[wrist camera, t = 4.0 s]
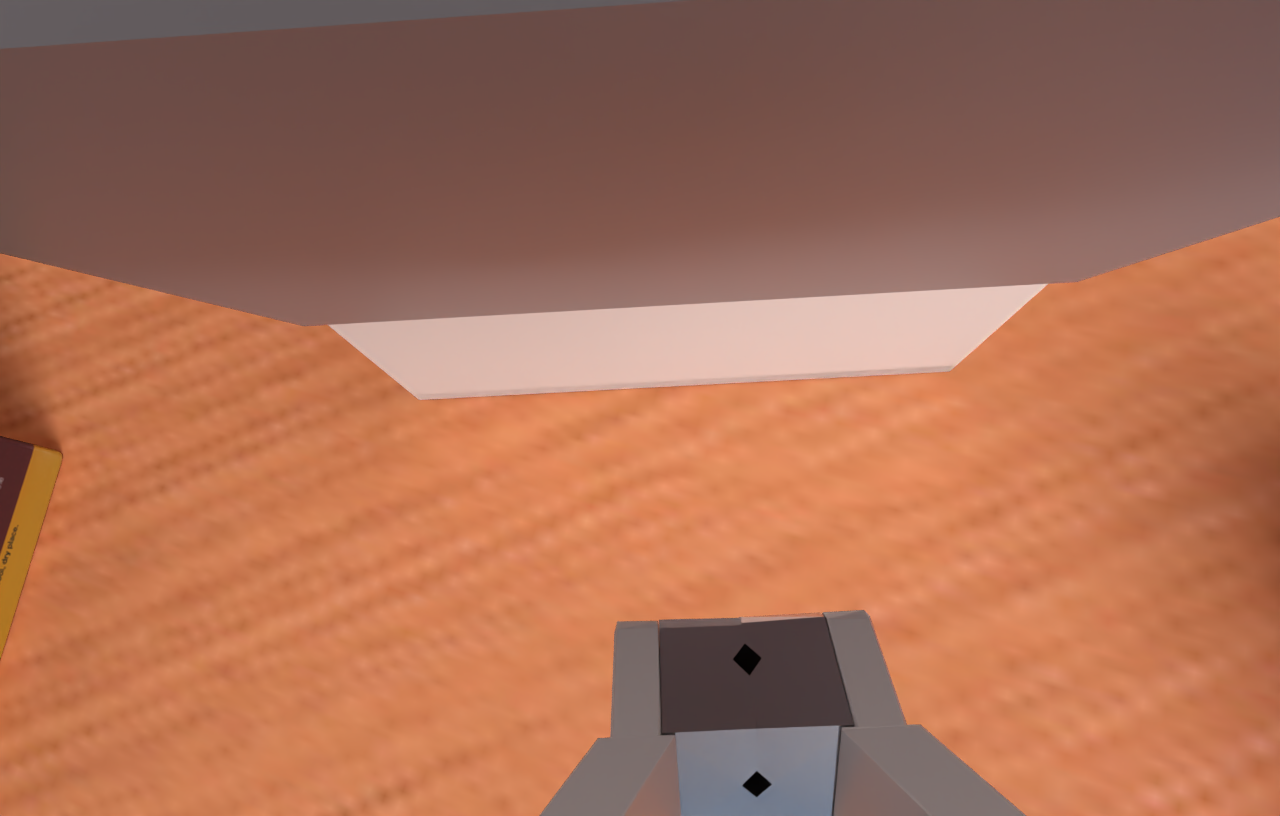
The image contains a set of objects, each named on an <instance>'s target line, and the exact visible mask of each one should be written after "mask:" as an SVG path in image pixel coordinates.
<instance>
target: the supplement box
mask: <svg viewBox="0 0 1280 816" xmlns="http://www.w3.org/2000/svg"><path fill="white" fill-rule="evenodd" d="M61 462H62V454H61V452H59V451H56V450H53V449H49V448H45V447H41V446H37V445H34V444H30V443H26V442H22V441H18V440H14V439H10V438H6V437H2V436H0V659H1V656H2V653H3V649H4V646H5V643H6V640H7V637H8V633H9V630H10V627H11V624H12V620H13V617H14V614H15V611H16V608H17V604H18V601H19V598H20V595H21V591H22V588H23V585H24V582H25V579H26V575H27V572H28V569H29V566H30V563H31V559H32V556H33V553H34V550H35V546H36V543H37V540H38V537H39V534H40V530H41V527H42V524H43V521H44V518H45V514H46V511H47V508H48V505H49V501H50V498H51V495H52V492H53V489H54V485H55V482H56V479H57V476H58V472H59V469H60V466H61Z"/></svg>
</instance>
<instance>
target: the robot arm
mask: <svg viewBox="0 0 1280 816" xmlns="http://www.w3.org/2000/svg"><path fill="white" fill-rule="evenodd" d="M539 816H1026V815H1025V814H1024V813H1022V812H1021V811H1020V810H1019V809H1018V808H1017V807H1015V806H1014V805H1013V804H1012V803H1011V802H1010V801H1009V800H1007V799H1006V798H1005V797H1004V796H1003V795H1002V794H1000V793H999V792H998V791H997V790H996V789H995V788H993V787H992V786H991V785H990V784H989V783H988V782H986V781H985V780H984V779H983V778H982V777H981V776H980V775H978V774H977V773H976V772H975V771H974V770H973V769H971V768H970V767H969V766H968V765H967V764H966V763H964V762H963V761H962V760H961V759H960V758H959V757H957V756H956V755H955V754H954V753H953V752H952V751H951V750H949V749H948V748H947V747H946V746H945V745H944V744H942V743H941V742H940V741H939V740H938V739H937V738H935V737H934V736H933V735H932V734H931V733H930V732H928V731H927V730H926V729H925V728H924V727H923V726H922V725H907V723H906V720H905V717H904V715H903V712H902V709H901V706H900V703H899V700H898V697H897V694H896V691H895V688H894V685H893V682H892V680H891V677H890V674H889V671H888V668H887V665H886V662H885V659H884V656H883V653H882V650H881V647H880V645H879V642H878V639H877V636H876V633H875V630H874V627H873V624H872V621H871V618H870V616H869V615H868V614H867V613H866V612H865V611H864V610H856V611H839V612H823V613H822V614H821V613H803V614H786V615H769V616H752V617H739V618H717V619H674V620H659V622H658V621H621V622H617V625H616V629H615V634H614V660H613V685H612V711H611V736H610V737H609V738H598V739H597V740H596V741H595V743H594V744H593V745H592V747H591V748H590V749H589V751H588V752H587V753H586V755H585V756H584V757H583V758H582V760H581V761H580V762H579V764H578V765H577V766H576V768H575V769H574V770H573V772H572V773H571V774H570V776H569V777H568V778H567V780H566V781H565V782H564V784H563V785H562V786H561V788H560V789H559V790H558V792H557V793H556V794H555V796H554V797H553V798H552V800H551V801H550V802H549V804H548V805H547V806H546V808H545V809H544V810H543V811H542V813H541V814H540V815H539Z"/></svg>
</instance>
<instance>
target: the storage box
mask: <svg viewBox="0 0 1280 816" xmlns="http://www.w3.org/2000/svg"><path fill="white" fill-rule="evenodd" d="M1046 285H1047V284H1034V285H1016V286H999V287H981V288H964V289H946V290H929V291H911V292H894V293H876V294H859V295H841V296H824V297H806V298H789V299H771V300H754V301H736V302H719V303H701V304H684V305H666V306H649V307H631V308H614V309H596V310H579V311H561V312H544V313H526V314H509V315H491V316H474V317H456V318H439V319H421V320H404V321H386V322H369V323H351V324H334V325H328V326H330V327H331V328H332V329H333V330H335V331H336V332H337V333H338V334H339V335H341V336H342V337H343V338H344V339H345V340H347V341H348V342H349V343H350V344H352V345H353V346H354V347H355V348H356V349H358V350H359V351H360V352H361V353H363V354H364V355H365V356H366V357H367V358H369V359H370V360H371V361H372V362H374V363H375V364H376V365H377V366H378V367H380V368H381V369H382V370H383V371H384V372H386V373H387V374H388V375H389V376H391V377H392V378H393V379H394V380H395V381H397V382H398V383H399V384H400V385H402V386H403V387H404V388H405V389H406V390H408V391H409V392H410V393H411V394H413V395H414V396H415V397H416V398H417V399H419V400H427V399H445V398H464V397H483V396H501V395H520V394H539V393H557V392H576V391H595V390H613V389H632V388H650V387H669V386H688V385H706V384H725V383H744V382H762V381H781V380H800V379H818V378H837V377H856V376H874V375H893V374H912V373H930V372H949V371H951V370H952V369H953V368H954V367H955V366H956V365H957V364H959V363H960V362H961V361H962V360H963V359H964V358H965V357H966V356H968V355H969V354H970V353H971V352H972V351H973V350H974V349H975V348H977V347H978V346H979V345H980V344H981V343H982V342H983V341H984V340H986V339H987V338H988V337H989V336H990V335H991V334H992V333H993V332H995V331H996V330H997V329H998V328H999V327H1000V326H1001V325H1002V324H1004V323H1005V322H1006V321H1007V320H1008V319H1009V318H1010V317H1011V316H1013V315H1014V314H1015V313H1016V312H1017V311H1018V310H1019V309H1020V308H1022V307H1023V306H1024V305H1025V304H1026V303H1027V302H1028V301H1029V300H1031V299H1032V298H1033V297H1034V296H1035V295H1036V294H1037V293H1038V292H1040V291H1041V290H1042V289H1043V288H1044V287H1045V286H1046Z"/></svg>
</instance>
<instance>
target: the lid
mask: <svg viewBox="0 0 1280 816" xmlns="http://www.w3.org/2000/svg"><path fill="white" fill-rule="evenodd" d="M1277 217H1280V0H0V253H2V254H6V255H10V256H14V257H18V258H23V259H27V260H31V261H35V262H39V263H43V264H48V265H52V266H56V267H60V268H64V269H68V270H72V271H77V272H81V273H85V274H89V275H93V276H97V277H102V278H106V279H110V280H114V281H118V282H122V283H127V284H131V285H135V286H139V287H143V288H147V289H152V290H156V291H160V292H164V293H168V294H172V295H177V296H181V297H185V298H189V299H193V300H197V301H201V302H206V303H210V304H214V305H218V306H222V307H226V308H231V309H235V310H239V311H243V312H247V313H251V314H256V315H260V316H264V317H268V318H272V319H276V320H281V321H285V322H289V323H293V324H297V325H301V326H316V325H334V324H351V323H369V322H386V321H404V320H421V319H439V318H456V317H474V316H491V315H509V314H526V313H544V312H561V311H579V310H596V309H614V308H631V307H649V306H666V305H684V304H701V303H719V302H736V301H754V300H771V299H789V298H806V297H824V296H841V295H859V294H876V293H894V292H911V291H929V290H946V289H964V288H981V287H999V286H1016V285H1034V284H1051V283H1069V282H1078V281H1081V280H1085V279H1088V278H1091V277H1094V276H1097V275H1100V274H1103V273H1106V272H1109V271H1112V270H1116V269H1119V268H1122V267H1125V266H1128V265H1131V264H1134V263H1137V262H1140V261H1144V260H1147V259H1150V258H1153V257H1156V256H1159V255H1162V254H1165V253H1168V252H1172V251H1175V250H1178V249H1181V248H1184V247H1187V246H1190V245H1193V244H1196V243H1199V242H1203V241H1206V240H1209V239H1212V238H1215V237H1218V236H1221V235H1224V234H1227V233H1231V232H1234V231H1237V230H1240V229H1243V228H1246V227H1249V226H1252V225H1255V224H1259V223H1262V222H1265V221H1268V220H1271V219H1274V218H1277Z"/></svg>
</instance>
